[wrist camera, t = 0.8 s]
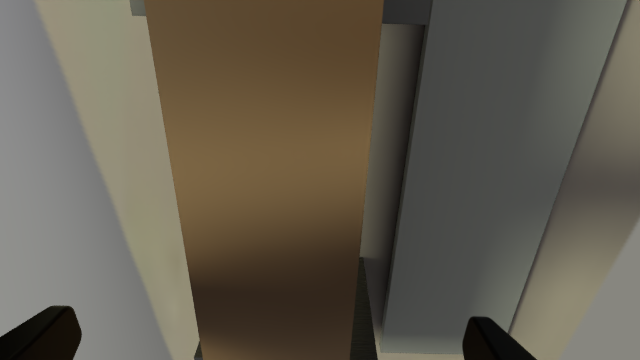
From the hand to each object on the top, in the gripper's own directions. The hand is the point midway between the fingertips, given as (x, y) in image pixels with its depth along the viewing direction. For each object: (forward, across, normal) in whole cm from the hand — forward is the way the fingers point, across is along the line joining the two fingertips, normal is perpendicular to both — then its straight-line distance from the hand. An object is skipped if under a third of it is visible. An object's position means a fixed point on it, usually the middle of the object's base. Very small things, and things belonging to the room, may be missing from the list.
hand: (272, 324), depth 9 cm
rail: (+5, 0, 0) cm, 5 cm away
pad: (+10, -8, 0) cm, 13 cm away
